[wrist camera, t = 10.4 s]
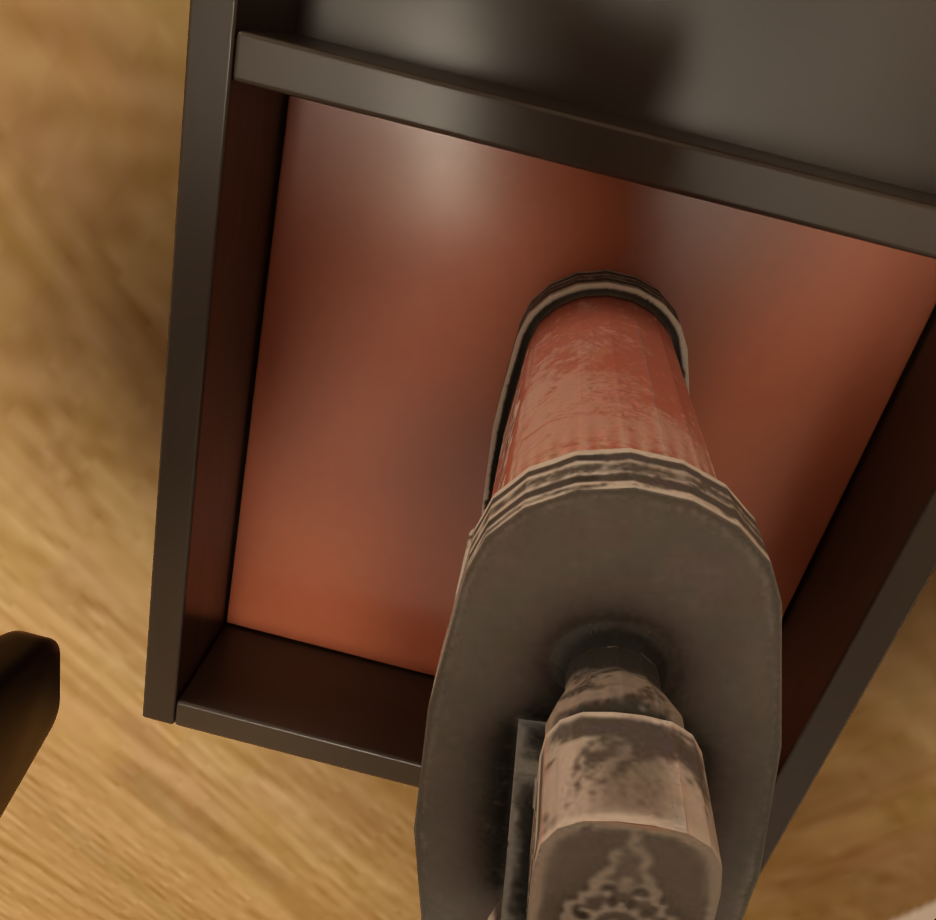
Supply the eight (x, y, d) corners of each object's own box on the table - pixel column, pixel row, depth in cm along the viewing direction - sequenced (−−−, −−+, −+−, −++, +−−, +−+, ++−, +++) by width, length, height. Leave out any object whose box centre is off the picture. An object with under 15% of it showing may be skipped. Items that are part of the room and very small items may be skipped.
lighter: (498, 262, 13) (338, 681, 4) (716, 276, 13) (1015, 754, 4) (477, 666, 17) (362, 1353, 8) (648, 684, 17) (730, 1422, 8)
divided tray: (1598, -964, 8) (2096, -1460, 5) (733, 758, 18) (759, 878, 15) (398, -1253, 8) (312, -1881, 5) (204, 622, 18) (141, 717, 15)
